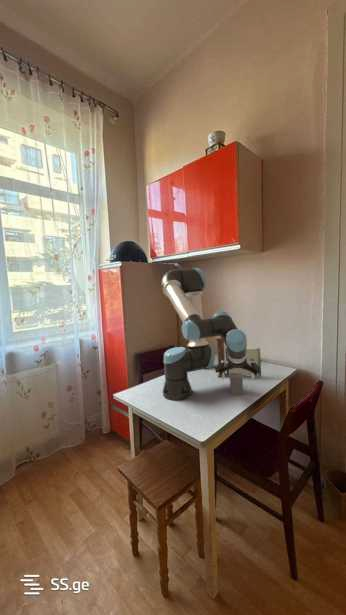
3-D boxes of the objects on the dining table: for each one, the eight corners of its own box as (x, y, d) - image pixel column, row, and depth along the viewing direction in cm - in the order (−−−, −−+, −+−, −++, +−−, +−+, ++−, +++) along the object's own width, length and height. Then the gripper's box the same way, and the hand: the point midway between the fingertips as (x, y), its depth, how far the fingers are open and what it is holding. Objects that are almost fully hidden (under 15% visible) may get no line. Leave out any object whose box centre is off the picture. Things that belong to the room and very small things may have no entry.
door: (226, 375, 146) (225, 348, 145) (226, 374, 148) (225, 348, 146) (261, 375, 142) (260, 348, 140) (260, 374, 143) (259, 348, 142)
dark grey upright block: (230, 394, 124) (229, 377, 123) (230, 389, 129) (229, 372, 128) (243, 395, 122) (242, 377, 121) (242, 389, 128) (241, 373, 127)
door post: (217, 377, 146) (215, 338, 144) (218, 374, 151) (216, 336, 149) (226, 377, 145) (224, 338, 143) (226, 374, 150) (224, 336, 147)
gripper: (206, 364, 105) (211, 383, 121) (269, 364, 98) (266, 385, 114) (207, 348, 109) (212, 369, 125) (267, 348, 103) (264, 370, 119)
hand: (238, 377), depth 120 cm, fingers open, 13 cm apart
